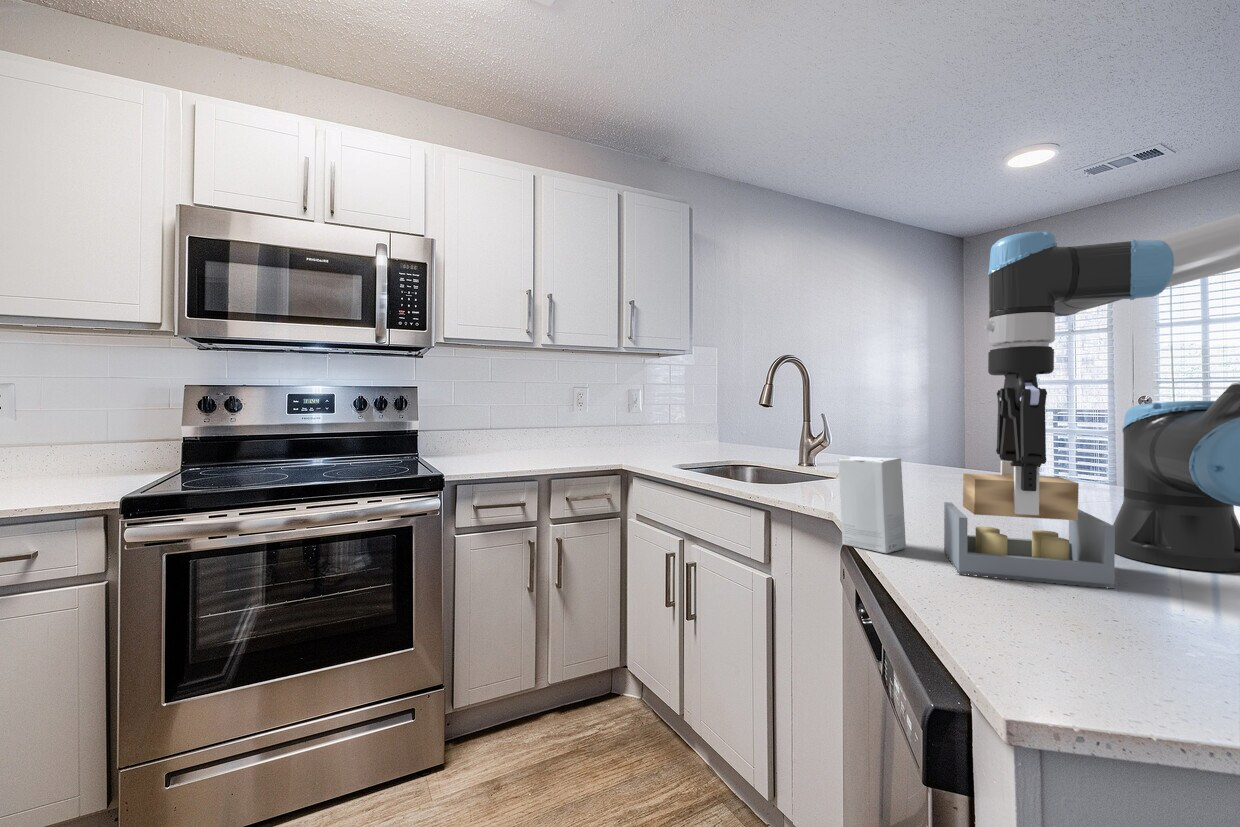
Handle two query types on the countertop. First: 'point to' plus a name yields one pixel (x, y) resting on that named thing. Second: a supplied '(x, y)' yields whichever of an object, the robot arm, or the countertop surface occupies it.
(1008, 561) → the peg frame
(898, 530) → the skincare box
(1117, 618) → the countertop surface
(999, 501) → the wooden block
